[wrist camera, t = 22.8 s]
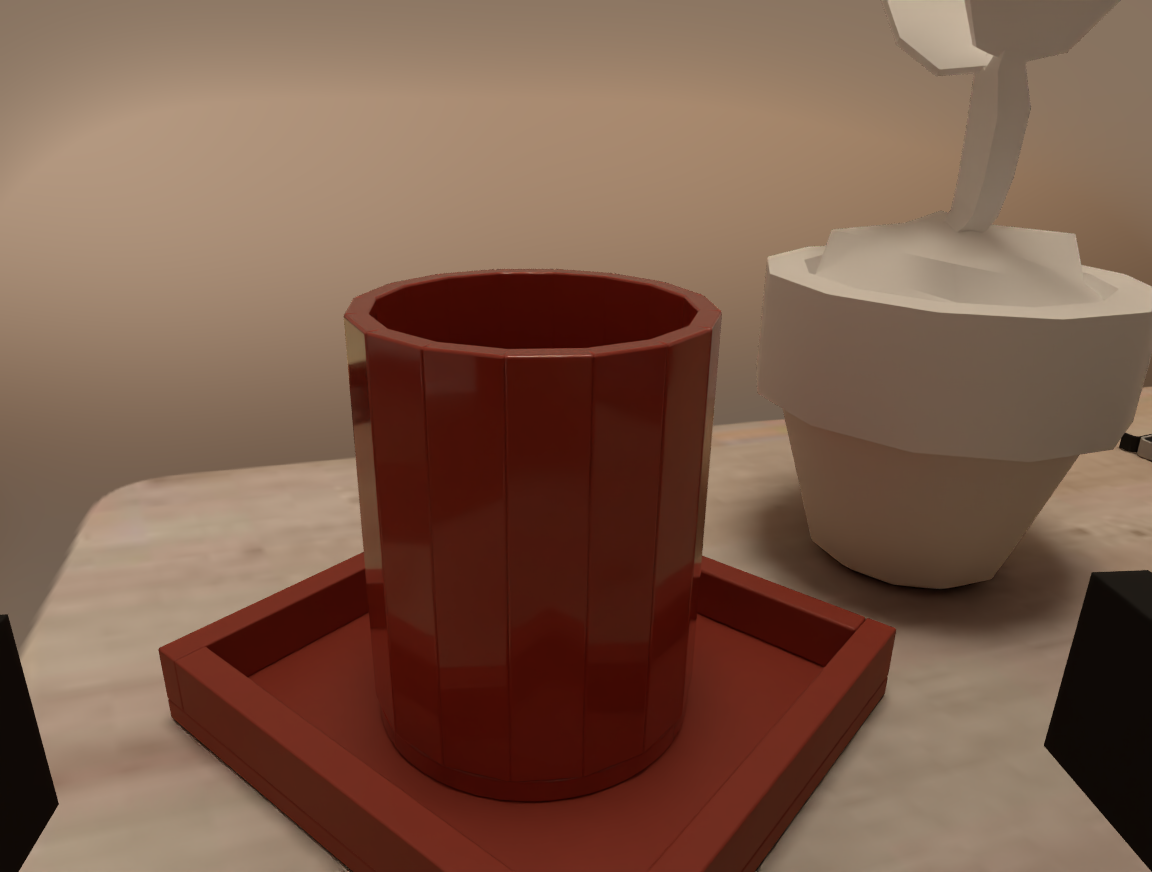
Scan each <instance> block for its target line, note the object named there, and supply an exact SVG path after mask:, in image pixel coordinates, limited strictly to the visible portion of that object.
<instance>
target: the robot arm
mask: <svg viewBox="0 0 1152 872" xmlns="http://www.w3.org/2000/svg"><path fill="white" fill-rule="evenodd" d="M1044 746H1045V747H1046V749H1047V750H1048V751H1049V752H1050V753H1051V754H1052V756H1053V757H1054V758H1055V759H1056V760H1057V761H1058V763H1059V764H1060V765H1061V766H1062V767H1063V769H1064V770H1065V771H1066V772H1067V773H1068V774H1069V776H1070V777H1071V778H1072V779H1073V780H1074V781H1075V783H1076V784H1077V785H1078V786H1079V787H1080V788H1081V790H1082V791H1083V792H1084V793H1085V794H1086V795H1087V797H1088V798H1089V799H1090V800H1091V801H1092V802H1093V804H1094V805H1095V806H1096V807H1097V808H1098V809H1099V811H1100V812H1101V813H1102V814H1103V815H1104V816H1105V818H1106V819H1107V820H1108V821H1109V822H1110V824H1111V825H1112V826H1113V827H1114V828H1115V829H1116V831H1117V832H1118V833H1119V834H1120V835H1121V836H1122V838H1123V839H1124V840H1125V841H1126V842H1127V843H1128V845H1129V846H1130V847H1131V848H1132V849H1133V850H1134V852H1135V853H1136V854H1137V855H1138V856H1139V857H1140V859H1141V860H1142V861H1143V862H1144V863H1145V864H1146V866H1147V867H1148V868H1149V869H1150V870H1151V871H1152V573H1151V572H1150V571H1148V570H1142V571H1116V572H1092V574H1091V577H1090V581H1089V584H1088V588H1087V592H1086V595H1085V599H1084V603H1083V606H1082V610H1081V613H1080V617H1079V621H1078V624H1077V628H1076V631H1075V635H1074V639H1073V642H1072V646H1071V649H1070V653H1069V657H1068V660H1067V664H1066V667H1065V671H1064V675H1063V678H1062V682H1061V685H1060V689H1059V693H1058V696H1057V700H1056V704H1055V707H1054V711H1053V714H1052V718H1051V722H1050V725H1049V729H1048V732H1047V736H1046V740H1045V743H1044ZM58 805H59V803H58V800H57V796H56V792H55V788H54V785H53V781H52V777H51V774H50V770H49V766H48V762H47V759H46V755H45V751H44V748H43V744H42V740H41V736H40V733H39V729H38V725H37V722H36V718H35V714H34V710H33V707H32V703H31V699H30V696H29V692H28V688H27V684H26V681H25V677H24V673H23V670H22V666H21V662H20V658H19V655H18V651H17V647H16V644H15V640H14V636H13V633H12V629H11V625H10V621H9V618H8V615H0V872H19V870H20V868H21V867H22V865H23V863H24V862H25V860H26V858H27V857H28V855H29V853H30V851H31V850H32V848H33V846H34V845H35V843H36V841H37V840H38V838H39V836H40V835H41V833H42V831H43V830H44V828H45V826H46V825H47V823H48V821H49V820H50V818H51V816H52V815H53V813H54V811H55V810H56V808H57V806H58Z"/></svg>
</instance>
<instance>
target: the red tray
mask: <svg viewBox="0 0 1152 872" xmlns="http://www.w3.org/2000/svg"><path fill="white" fill-rule="evenodd" d="M895 634H896V629H895V628H894V627H891V626H888V625H886V624H883V623H880V622H878V621H875V620H872V619H870V618H867V619H866V620H865V617H863V616H861V615H858V614H855V613H853V612H850V611H847V610H845V609H842V608H840V607H837V606H834V605H832V604H829V603H826V602H824V601H821V600H818V599H816V598H813V597H810V596H808V595H805V594H802V593H800V592H797V591H794V590H792V589H789V588H786V587H784V586H781V585H779V584H776V583H773V582H771V581H768V580H765V579H763V578H760V577H757V576H755V575H752V574H749V573H747V572H744V571H741V570H739V569H736V568H733V567H731V566H728V565H725V564H723V563H720V562H717V561H715V560H712V559H710V558H707V557H704V556H702V562H701V574H700V586H699V598H698V610H697V622H696V634H695V646H694V659H693V671H692V679H691V683H690V687H689V692H688V703H687V710H686V716H685V718H684V721H683V724H682V726H681V729H680V731H679V732H678V734H677V736H676V737H675V739H674V741H673V742H672V744H671V745H670V746H669V747H668V748H667V749H666V751H665V752H664V753H663V754H662V755H661V756H660V757H659V758H658V759H657V760H655V761H654V762H653V763H652V764H651V765H650V766H648V767H647V768H646V769H644V770H642V771H641V772H639V773H638V774H636V775H635V776H633V777H632V778H630V779H627V780H625V781H623V782H621V783H619V784H617V785H615V786H613V787H610V788H607V789H604V790H601V791H598V792H595V793H592V794H588V795H584V796H579V797H575V798H570V799H563V800H554V801H544V802H518V801H506V800H497V799H492V798H486V797H481V796H476V795H473V794H470V793H466V792H463V791H460V790H456V789H454V788H452V787H449V786H447V785H445V784H443V783H440V782H438V781H436V780H434V779H433V778H431V777H429V776H428V775H426V774H424V773H423V772H421V771H420V770H418V769H417V768H416V767H415V766H414V765H412V764H411V763H410V762H409V761H407V760H406V759H405V757H404V756H403V755H402V754H401V753H400V752H399V751H398V750H397V749H396V747H395V746H394V744H393V743H392V741H391V739H390V738H389V736H388V735H387V733H386V730H385V727H384V725H383V722H382V719H381V712H380V705H379V700H378V698H377V696H376V691H375V679H374V667H373V655H372V643H371V632H370V620H369V608H368V596H367V584H366V573H365V561H364V552H363V553H360V554H358V555H356V556H354V557H352V558H350V559H348V560H346V561H343V562H341V563H339V564H337V565H335V566H333V567H331V568H329V569H326V570H324V571H322V572H320V573H318V574H316V575H314V576H312V577H309V578H307V579H305V580H303V581H301V582H299V583H297V584H295V585H292V586H290V587H288V588H286V589H284V590H282V591H280V592H277V593H275V594H273V595H271V596H269V597H267V598H265V599H263V600H260V601H258V602H256V603H254V604H252V605H250V606H248V607H246V608H243V609H241V610H239V611H237V612H235V613H233V614H231V615H229V616H226V617H224V618H222V619H220V620H218V621H216V622H214V623H211V624H209V625H207V626H205V627H203V628H201V629H199V630H197V631H194V632H192V633H190V634H188V635H186V636H184V637H182V638H180V639H177V640H175V641H173V642H171V643H169V644H167V645H165V646H163V647H160V648H159V655H160V660H161V665H162V670H163V676H164V681H165V686H166V691H167V696H168V698H169V700H168V701H169V706H170V711H171V716H172V718H173V719H175V720H176V721H177V722H178V723H179V724H180V725H182V726H183V727H184V728H185V729H186V730H187V731H189V732H190V733H191V734H192V735H193V736H195V737H196V738H197V739H198V740H199V741H200V742H202V743H203V744H204V745H205V746H206V747H207V748H209V749H210V750H211V751H212V752H213V753H214V754H216V755H217V756H218V757H219V758H220V759H221V760H223V761H224V762H225V763H226V764H227V765H229V766H230V767H231V768H232V769H233V770H234V771H236V772H237V773H238V774H239V775H240V776H241V777H243V778H244V779H245V780H246V781H247V782H248V783H250V784H251V785H252V786H253V787H254V788H255V789H257V790H258V791H259V792H260V793H261V794H263V795H264V796H265V797H266V798H267V799H268V800H270V801H271V802H272V803H273V804H274V805H275V806H277V807H278V808H279V809H280V810H281V811H282V812H284V813H285V814H286V815H287V816H288V817H289V818H291V819H292V820H293V821H294V822H295V823H297V824H298V825H299V826H300V827H301V828H302V829H304V830H305V831H306V832H307V833H308V834H309V835H311V836H312V837H313V838H314V839H315V840H316V841H318V842H319V843H320V844H321V845H322V846H323V847H325V848H326V849H327V850H328V851H329V852H331V853H332V854H333V855H334V856H335V857H336V858H338V859H339V860H340V861H341V862H342V863H343V864H345V865H346V866H347V867H348V868H349V869H350V870H352V871H353V872H755V870H756V869H757V868H758V866H759V865H760V864H761V862H762V861H763V859H764V858H765V857H766V855H767V854H768V853H769V851H770V850H771V848H772V847H773V846H774V844H775V843H776V842H777V840H778V839H779V838H780V836H781V835H782V833H783V832H784V831H785V829H786V828H787V827H788V825H789V824H790V822H791V821H792V820H793V818H794V817H795V816H796V814H797V813H798V811H799V810H800V809H801V807H802V806H803V805H804V803H805V802H806V800H807V799H808V798H809V796H810V795H811V794H812V792H813V791H814V790H815V788H816V787H817V785H818V784H819V783H820V781H821V780H822V779H823V777H824V776H825V774H826V773H827V772H828V770H829V769H830V768H831V766H832V765H833V763H834V762H835V761H836V759H837V758H838V757H839V755H840V754H841V752H842V751H843V750H844V748H845V747H846V746H847V744H848V743H849V742H850V740H851V739H852V737H853V736H854V735H855V733H856V732H857V731H858V729H859V728H860V726H861V725H862V724H863V722H864V721H865V720H866V718H867V717H868V715H869V714H870V713H871V711H872V710H873V709H874V707H875V706H876V705H877V703H878V702H879V700H880V699H881V698H882V696H883V695H884V694H885V689H886V683H887V675H888V672H889V667H890V661H891V656H892V650H893V645H894V640H895Z"/></svg>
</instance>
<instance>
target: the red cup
mask: <svg viewBox="0 0 1152 872" xmlns="http://www.w3.org/2000/svg"><path fill="white" fill-rule="evenodd" d="M721 319H722V313H721V311H720V310H719V309H718V308H717V307H716V306H715V305H714V304H713V303H712V302H710V301H709V300H708V299H707V298H706V297H705V296H703V295H701V294H698V293H695V292H692V291H689V290H686V289H683V288H680V287H677V286H674V285H672V284H669V283H666V282H661V281H655V280H650V279H644V278H637V277H632V276H626V275H620V274H612V273H603V272H590V271H575V270H563V269H555V270H554V269H497V270H494V269H492V270H481V271H469V272H457V273H444V274H439V275H438V274H435V275H430V276H425V277H420V278H414V279H409V280H405V281H399V282H394V283H390V284H386V285H384V286H382V287H379V288H377V289H374V290H372V291H369V292H367V293H364V294H362V295H359V296H357V297H355V298H354V299H353V300H352V302H351V304H350V306H349V307H348V309H347V311H346V312H345V314H344V325H345V336H346V348H347V360H348V372H349V384H350V395H351V407H352V419H353V430H354V443H355V453H356V454H355V455H356V466H357V478H358V490H359V502H360V514H361V525H362V537H363V549H364V561H365V573H366V584H367V596H368V608H369V620H370V632H371V643H372V655H373V667H374V679H375V691H376V696H377V698H378V700H379V705H380V712H381V719H382V722H383V725H384V727H385V730H386V733H387V735H388V736H389V738H390V739H391V741H392V743H393V744H394V746H395V747H396V749H397V750H398V751H399V752H400V753H401V754H402V755H403V756H404V757H405V759H406V760H407V761H409V762H410V763H411V764H412V765H414V766H415V767H416V768H417V769H418V770H420V771H421V772H423V773H424V774H426V775H428V776H429V777H431V778H433V779H434V780H436V781H438V782H440V783H443V784H445V785H447V786H449V787H452V788H454V789H456V790H460V791H463V792H466V793H470V794H473V795H476V796H481V797H486V798H492V799H497V800H506V801H518V802H544V801H554V800H563V799H570V798H575V797H579V796H584V795H588V794H592V793H595V792H598V791H601V790H604V789H607V788H610V787H613V786H615V785H617V784H619V783H621V782H623V781H625V780H627V779H630V778H632V777H633V776H635V775H636V774H638V773H639V772H641V771H642V770H644V769H646V768H647V767H648V766H650V765H651V764H652V763H653V762H654V761H655V760H657V759H658V758H659V757H660V756H661V755H662V754H663V753H664V752H665V751H666V749H667V748H668V747H669V746H670V745H671V744H672V742H673V741H674V739H675V737H676V736H677V734H678V732H679V731H680V729H681V726H682V724H683V721H684V718H685V716H686V710H687V703H688V692H689V687H690V683H691V679H692V671H693V659H694V646H695V634H696V622H697V610H698V598H699V586H700V574H701V562H702V550H703V537H704V525H705V513H706V501H707V489H708V477H709V465H710V453H711V440H712V428H713V416H714V404H715V391H716V380H717V368H718V356H719V343H720V331H721Z"/></svg>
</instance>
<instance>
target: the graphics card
mask: <svg viewBox="0 0 1152 872" xmlns="http://www.w3.org/2000/svg"><path fill="white" fill-rule="evenodd" d="M1119 448H1122V449H1125V450H1127V451H1131V452H1137V455H1139V456H1140V457H1143V458H1146V459H1148V460H1151V461H1152V434H1149V435H1144V436H1139V437H1137V436H1133V435H1130V434H1127V433H1124V435H1123V436H1122V438H1121V442H1120V446H1119Z"/></svg>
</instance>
